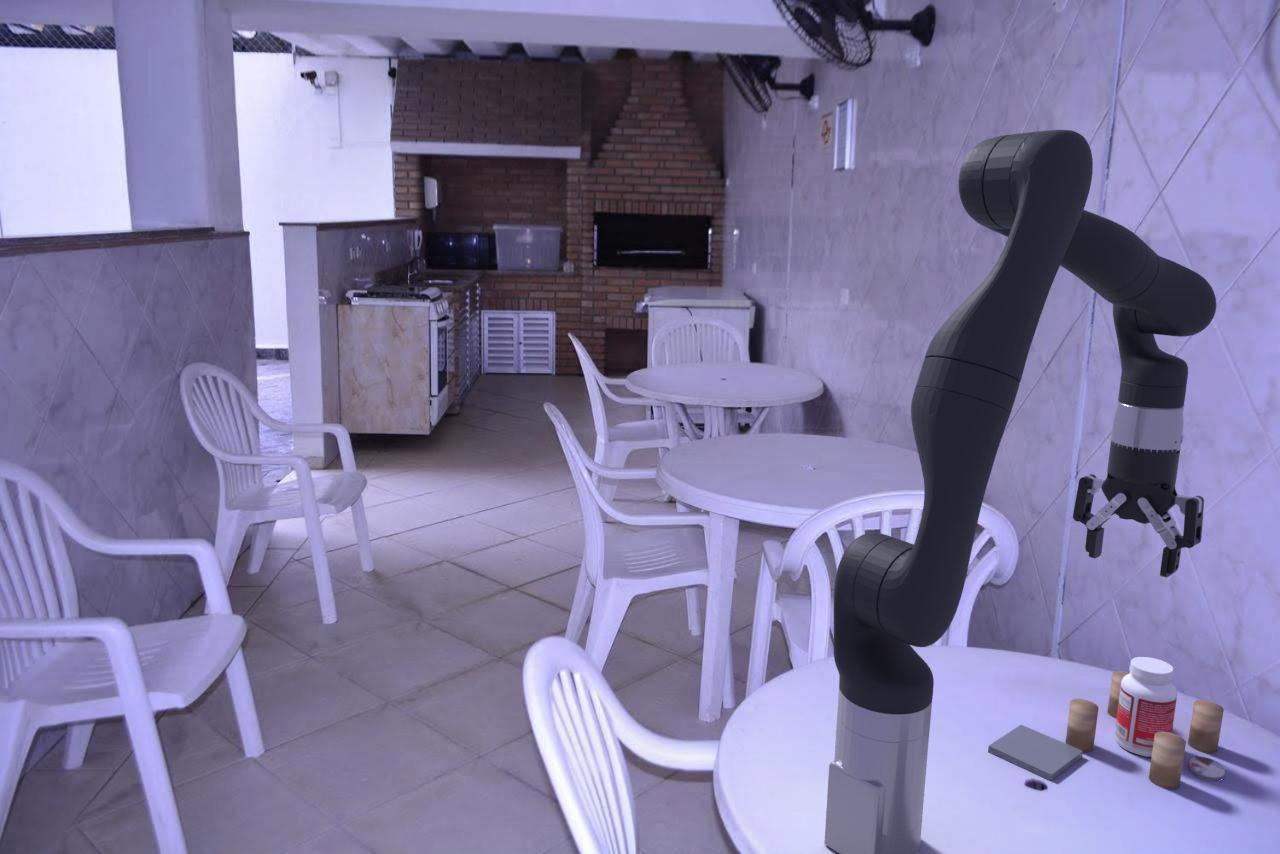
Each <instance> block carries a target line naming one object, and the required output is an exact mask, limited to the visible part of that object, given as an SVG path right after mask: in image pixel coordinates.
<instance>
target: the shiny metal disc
mask: <svg viewBox="0 0 1280 854" xmlns="http://www.w3.org/2000/svg"><path fill="white" fill-rule="evenodd" d="M1189 771H1190V772H1191V773H1192V774H1193V775H1195V776H1196V777H1198V778H1200V777H1201V779H1203V780H1206V779H1207V780H1206V781H1211V780H1212V782H1219V780H1220V781H1222V780H1221V779H1223V778H1224V779H1225V773H1226V767H1225V766H1224V765H1223V764H1222V763H1221V762H1218V761H1217V760H1215V759H1212V758H1209V757H1204V756H1194V757H1192V758H1190V761H1189ZM1224 779H1223V780H1224Z"/></svg>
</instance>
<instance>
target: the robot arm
mask: <svg viewBox="0 0 1280 854" xmlns="http://www.w3.org/2000/svg"><path fill="white" fill-rule="evenodd" d="M1093 161H1094V159H1093V154H1092V150H1091V147H1090V145H1089V142H1088V140H1087V139H1086V138H1085V137H1084V136H1083V135H1082V134H1080V133H1079V132H1077V131H1075V130H1071V129H1069V130H1068V129H1050V130H1049V129H1048V130H1043V131H1042V130H1041V131H1039V130H1038V131H1037V130H1036V131H1030V132H1021V133H1013V134H1004V135H1003V134H1002V135H998V136H994V137H991V138H988V139H984V140H982V141H980V142H978V143H977V144H976V145H974V146H973V147H972V148H971V149H970V150H969V152H967V154H966V156H965V157H964V160H963V161H962V163H961V166H960V170H959V175H958V194H959V198H960V202H961V204H962V206H963V209H964V210H965V212H966V213H967V215H969V217H970V218H971V219H973V221H974V222H976V223H977V224H979V225H981V226H982V227H984V228H986V229H988V230H991V231H993V232H994V233H995V232H996V233H998V234H1000V235H1003V236H1004V237H1007V239H1006V241H1005V244H1004V247H1003V250H1002V251H1001V253H1000V254H999V257H998V260H996V262H995V264H994V266H993V268H992V269H991V270H990V272H989V273H988V274H987V276H986V277H985V278H984V280H982V282H980V284H979V285H978V286H977V287H976V288H975V289H974V290H973V292H972V293H971V294H970V295H969V296H968V297H967V298H966V299H965V300H964V301H963V302H962V303H961V304H960V305H959V306H958V308H956V309H955V310H954V311H953V313H952V314H950V316H949V317H948V318H947V319H946V320H945V322H944V323H942V325H941V326H940V328H939V329H938V330H937V332H936V333H935V335H933V337H932V339H931V341H930V342H929V345H928V347H927V351H926V353H925V356H924V359H923V362H922V364H921V365H922V366H921V369H920V372H919V375H918V379H917V381H916V383H915V388H914V392H913V393H912V394H913V395H912V398H911V403H910V416H911V417H910V419H911V425H912V431H913V437H914V440H915V445H916V449H917V454H918V458H919V462H920V466H921V472H922V473H921V474H922V478H923V487H924V490H923V491H924V495H923V497H924V498H923V507H922V513H921V518H920V522H919V525H918V526H919V527H918V530H917V534H916V536H915V540H914V543H911V542H908V541H905V540H902V539H899V538H897V537H894V536H891V535H889V534H884V533H880V532H867V533H864V534H861V535H859V536H858V537H856V538H855V539H854V540H853V541H851V542H850V544H849V545H848V546H847V547H846V549H845V551H844V552H843V554H842V556H841V558H840V561H839V563H838V566H837V570H836V575H835V579H834V590H833V659H834V663H835V667H836V668H837V673H838V675H839V680H838V682H839V683H838V700H837V712H836V713H837V714H836V729H835V730H836V731H835V745H834V758H833V759H834V760H833V761H832V762H830V763H829V765H828V778H827V779H828V780H827V795H826V796H827V797H826V810H825V813H826V814H825V829H824V845H825V846H827V847H829V848H831V849H832V850H833V851H835V852H836V853H837V854H920V849H921V839H922V829H923V827H922V826H923V814H924V803H925V802H924V801H925V789H926V779H927V778H926V777H927V767H928V765H927V764H928V752H929V741H930V728H931V717H932V709H933V708H932V707H933V696H934V687H935V686H934V685H935V684H934V683H935V682H934V679H935V678H934V675H933V671H932V669H931V668H930V665H929V664H928V663H927V662H926V661H925V660H924V659H923V658H922V657H921V656H920V655H919V654H918V653H917V651H915V649H914V648H913V647H917V648H927V647H929V646H931V645H934V644H935V643H937V642H938V641H939V640H940V639H941V638H942V637H943V636H944V634H945V633H946V632H947V630H948V629H949V627H950V626H951V624H952V623H953V620H954V618H955V616H956V613H957V611H958V608H959V604H960V601H961V599H962V594H963V592H964V587H965V583H966V579H967V574H968V568H969V565H970V561H971V560H970V559H971V555H972V551H973V547H974V546H973V545H974V540H975V535H976V530H977V527H978V522H979V518H980V514H981V509H982V506H983V501H984V497H985V493H986V491H987V490H986V489H987V486H988V483H989V480H990V476H991V473H992V471H993V466H994V463H995V460H996V457H997V453H998V451H999V447H1000V445H1001V441H1002V439H1003V436H1004V432H1005V430H1006V427H1007V425H1008V422H1009V419H1010V416H1011V413H1012V411H1013V407H1014V404H1015V400H1016V399H1017V394H1018V391H1019V388H1020V385H1021V384H1020V383H1021V382H1022V378H1023V374H1024V371H1025V368H1026V362H1027V359H1028V356H1029V353H1030V349H1031V346H1032V342H1033V339H1034V337H1035V334H1036V331H1037V328H1038V324H1039V322H1040V318H1041V316H1042V314H1043V310H1044V307H1045V304H1046V301H1047V299H1048V296H1049V294H1050V291H1051V288H1052V286H1053V283H1054V281H1055V279H1056V277H1057V276H1056V275H1057V274H1058V271H1059V268H1060V267H1062V268H1064V269H1065V270H1066V271H1068V272H1070V273H1071V274H1072V275H1074V276H1076V277H1077V278H1078V279H1080V280H1081V281H1082V282H1083V283H1084V284H1086V285H1087V286H1088V287H1089V288H1091V289H1092V290H1093V291H1094V292H1095V293H1096V294H1098V295H1099V296H1100V297H1101V298H1102V299H1104V300H1105V301H1107V302H1108V303H1111V304H1112V318H1113V324H1114V330H1115V333H1116V339H1117V347H1118V353H1119V359H1120V365H1121V373H1120V374H1121V376H1120V382H1119V383H1120V384H1119V390H1118V399H1117V405H1116V409H1115V411H1114V416H1113V420H1112V428H1111V430H1112V431H1111V436H1110V446H1109V453H1108V463H1107V468H1106V469H1107V471H1106V472H1107V474H1106V478H1105V479H1101V478H1097V476H1096V475H1095V474H1093V473H1090V474H1087V475H1085V476H1082V477H1081V478H1079V479H1078V485H1077V491H1076V496H1075V502H1074V506H1073V507H1074V508H1073V514H1072V518H1073V520H1074V521H1076V522H1080V523H1082V524H1083V525H1084V526H1085V527H1086V530H1087V531H1086V537H1085V544H1084V545H1085V546H1084V547H1085V552H1087V553H1088V557H1089V558H1091V559H1092V558H1093V559H1097V558H1099V557H1100V556H1101V555H1102V553H1103V543H1104V542H1103V541H1104V536H1105V535H1104V534H1105V528H1104V527H1103V525H1105V523H1107V522H1108V521H1109V520H1111V519H1112V518H1113V517H1114V516H1116V515H1117V516H1118V519H1120V520H1121V519H1122V520H1133V521H1135V522H1137V523H1140V524H1143V525H1147V524H1151V526H1152V528H1153V530H1154V531H1155V532H1156V533H1157V534H1159V536H1160V538H1161V540H1162V541H1163V543H1164V544H1165V546H1164V547H1163V549H1162V554H1161V555H1162V557H1161V562H1160V571H1159V577H1163V578H1166V579H1167V578H1169V577H1170V576H1172V575H1173V574H1175V573H1176V572H1177V571H1178V570H1179V568H1180V560H1181V553H1182V549H1185V548H1186V549H1191V548H1194V547H1195V546H1196V545H1198V544H1200V543H1201V541H1202V535H1203V534H1202V533H1203V520H1204V508H1205V507H1204V506H1205V499H1204V498H1203V496H1201V495H1195V496H1187V495H1179V494H1178V492H1177V489H1176V483H1177V478H1178V470H1179V469H1178V468H1179V461H1180V456H1181V455H1180V454H1181V448H1182V447H1181V446H1182V444H1183V440H1184V434H1183V433H1184V406H1185V400H1186V395H1187V394H1186V393H1187V386H1188V385H1187V384H1188V377H1189V366H1188V364H1187V362H1186V361H1185V360H1184V359H1182V358H1180V357H1179V356H1176V355H1173V354H1170V353H1167V352H1166V351H1163V350H1162V349H1161V348H1160V347H1159V345H1158V344H1157V341H1156V338H1155V335H1159V336H1160V335H1161V336H1170V337H1181V338H1183V337H1184V338H1185V337H1190V336H1194V335H1197V334H1200V333H1201V332H1203V331H1204V330H1205V329H1206V328H1207V327H1208V326H1209V325H1210V324H1211V323H1212V322H1213V319H1214V317H1215V314H1216V312H1217V298H1216V294H1215V291H1214V289H1213V287H1212V285H1211V284H1210V283H1209V281H1208V280H1207V279H1206V278H1205V277H1204V276H1203V275H1201V274H1199V273H1198V272H1197V271H1194V270H1193V269H1191V268H1189V267H1186V266H1183V265H1182V264H1179V263H1177V262H1175V261H1173V260H1170V259H1168V258H1166V257H1163V256H1161V255H1158V254H1157V252H1156V251H1155V250H1153V249H1152V247H1150V246H1149V245H1148V244H1147V243H1146V242H1144V240H1143V239H1141V238H1140V236H1138V235H1137V234H1136V233H1135V232H1133V231H1132V230H1130V229H1129V228H1127V227H1126V226H1124V225H1121V223H1118V222H1116V221H1113V220H1111V219H1109V218H1106V217H1104V216H1101V215H1098V214H1096V213H1094V212H1091V211H1088V210H1085V206H1086V204H1087V201H1088V197H1089V194H1090V191H1091V185H1092V179H1093V172H1094V171H1093V170H1094V168H1093V167H1094V165H1093V163H1094V162H1093ZM1100 489H1101V491H1102V493H1103V495H1104V496H1105V498H1106V500H1107V501H1108V502H1107V503H1106V504H1104V506H1103V507H1101V509H1099V511H1097V512H1096V514H1093V513H1091V512H1092V507H1093V502H1094V497H1095V495H1096V494H1097V493H1099V492H1100ZM1176 505H1177V506H1178V507H1179V511H1180V513H1181V514H1182V515H1184V520H1183V533H1182V534H1183V535H1182V534H1181V532H1180V530H1179V529H1178V527H1177V522H1176V520H1175V519H1174V517H1173V515H1172V514H1171V512H1170V510H1171V509H1172V508H1173V507H1174V506H1176ZM912 646H913V647H912Z"/></svg>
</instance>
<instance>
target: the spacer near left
mask: <svg viewBox="0 0 1280 854" xmlns="http://www.w3.org/2000/svg"><path fill="white" fill-rule="evenodd" d="M1186 745H1187V742H1186V740H1185V739H1184V738H1183V737H1182V736H1180V735H1179V734H1175V733H1173V732H1172V733H1170V732H1157V733H1155V736H1154V743H1153V750H1152V757H1150V759H1151V760H1150V766H1149V772H1148V773H1149V774H1148V779H1149V781H1150V783H1152V784H1154V785H1156V786H1157V787H1160V788H1164V789H1167V790H1176V789H1178V788H1180V785H1181V778H1182V772H1183V767H1184V766H1183V765H1184V759H1185V753H1186Z"/></svg>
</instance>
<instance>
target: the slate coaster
mask: <svg viewBox="0 0 1280 854" xmlns="http://www.w3.org/2000/svg"><path fill="white" fill-rule="evenodd" d="M987 752H988V753H990V754H992V755H995V756H997V757H999V758H1001V759H1003V760H1006V761H1008V762H1009V763H1012V764H1014V765H1016V766H1017V767H1021V768H1022V769H1025V770H1026V771H1029V772H1031V773H1033V774H1035V775H1038V776H1039V777H1042V778H1044V779H1046V780H1048V781H1053V780H1054V779H1055V778H1057V777H1058V776H1059V775H1061V774H1062V773H1063V772H1064V771H1066V770H1068V768H1070V767H1071V766H1072V765H1074V764H1075V763H1076V762H1078V761H1079V760H1080V759H1081V758H1083V755H1084V752H1083V751H1082V750H1079V749H1077V748H1075V747H1072V746H1070V745H1068V744H1066V742H1063V741H1060V740H1058V739H1056V738H1053V737H1051V736H1049V735H1046V734H1044V733H1041V732H1039V731H1037V730H1034V729H1032V728H1030V727H1028V726H1025V725H1023V724H1020V725H1018V726H1017V727H1015V728H1013V729H1012V730H1010V731H1009V732H1007V733H1006V734H1005V735H1003V736H1001V737H1000V738H998V739H996V740H995V741H993V742H992V743H990V744H989V745H988V750H987Z"/></svg>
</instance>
